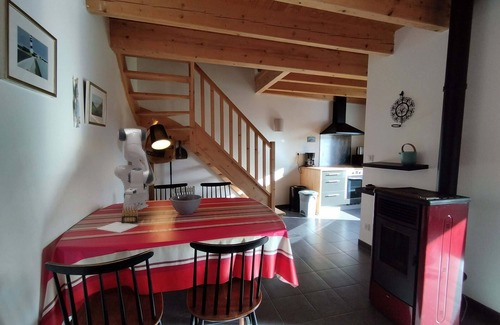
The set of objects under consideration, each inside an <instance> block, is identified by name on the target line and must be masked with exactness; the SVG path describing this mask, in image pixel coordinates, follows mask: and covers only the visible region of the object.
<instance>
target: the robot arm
mask: <svg viewBox="0 0 500 325" xmlns="http://www.w3.org/2000/svg"><path fill="white" fill-rule="evenodd" d="M116 134H117V139H118V140H119V141H121V142H124V145H123V147H124V148H123V153H124V154H123V157H124V159H125V160H126V161H128V162H131V164H122V165H117V166H116V167H115V168H114V171H113V172H114V175H115V177H116V178H118V179H119V180H120V181H121V182H122V184H123V190H124V191H123V203H122V204H123V205H122V207H123V206H124V211H125V208H126V206H127V212H128V207H130V210H131V206H132V211H133V208H134V206H135V211H136V207H138V211H141V210H143V209H145V208H147V207H149V204H147V203H146V201H148V200H149V191H148V189H147V188H146V187H144V186H145V185H146V184H147V185H151V183H153V181H154V179H155V178H154V173H153V170H152V167H151V164H150V160H149V155H148V153H147V152H146V151H144V149H143V145H142V143H143V142H145V141H146V140H147V136H148V134H147V132H146V130H145V129H142V128H141V129H140V128H132V127H131V128H119V129H118V131H117V133H116ZM141 161H142V162H141ZM144 184H145V185H144ZM121 210H123V208H122V209H121Z"/></svg>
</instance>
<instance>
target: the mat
mask: <svg viewBox="0 0 500 325" xmlns="http://www.w3.org/2000/svg"><path fill="white" fill-rule="evenodd" d="M138 226H140V225H139V224H136V223H121V221H115V222H112V223H109V224H106V225H103V226H100V227H97V228H96V230H99V231H105V232H112V233H118V234H120V233H122V232H125V231H128V230H131V229H133V228H136V227H138Z"/></svg>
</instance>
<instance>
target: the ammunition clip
mask: <svg viewBox="0 0 500 325" xmlns="http://www.w3.org/2000/svg"><path fill="white" fill-rule="evenodd" d="M122 209H123V210H122ZM122 209H121V210H122V212H121V221H120V222H121V223H128V224H138V223H139V210H138V207H136V210H135V206H134V208H133V210H132V206H131V210H130V207H128V211H127V206H126V208H125V210H124V206H123V205H122Z"/></svg>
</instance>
